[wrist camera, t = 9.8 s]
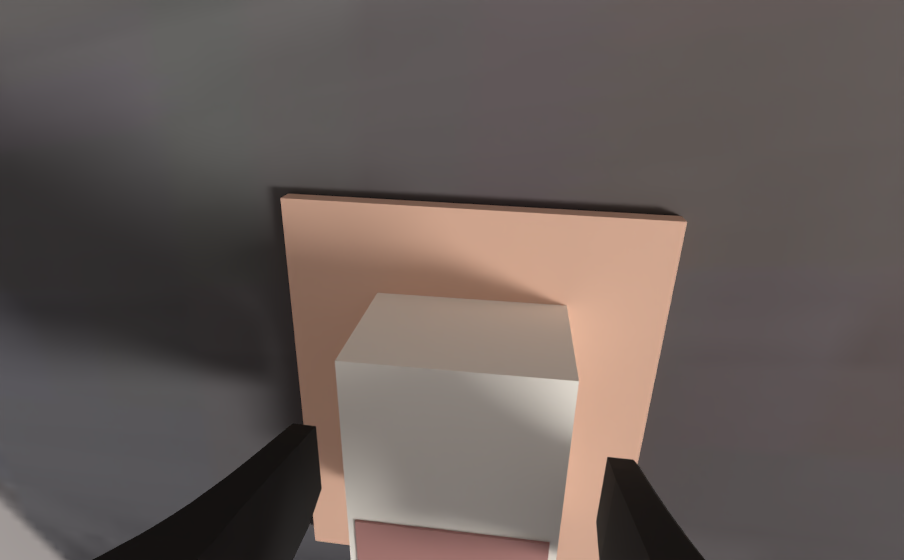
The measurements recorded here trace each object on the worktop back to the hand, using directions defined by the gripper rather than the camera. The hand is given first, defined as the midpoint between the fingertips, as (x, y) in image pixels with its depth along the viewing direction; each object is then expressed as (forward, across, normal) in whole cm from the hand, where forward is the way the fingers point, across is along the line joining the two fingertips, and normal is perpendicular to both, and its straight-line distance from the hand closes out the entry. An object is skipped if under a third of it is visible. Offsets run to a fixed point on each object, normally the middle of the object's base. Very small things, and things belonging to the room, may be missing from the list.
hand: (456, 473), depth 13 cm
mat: (+3, 0, 0) cm, 3 cm away
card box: (+2, 0, 0) cm, 3 cm away
